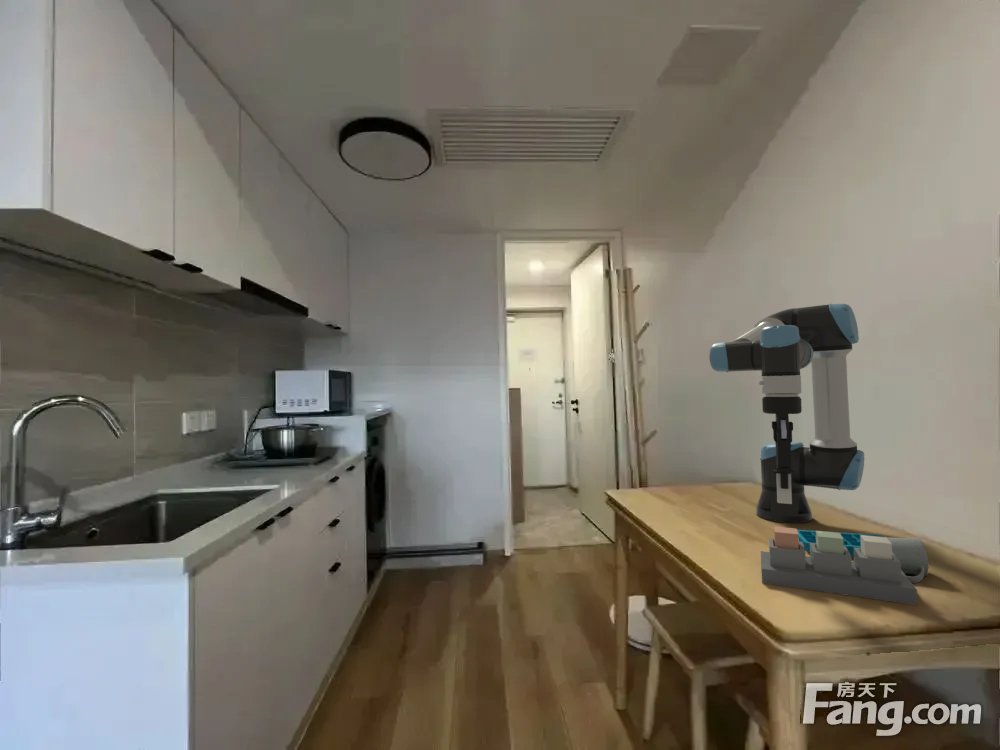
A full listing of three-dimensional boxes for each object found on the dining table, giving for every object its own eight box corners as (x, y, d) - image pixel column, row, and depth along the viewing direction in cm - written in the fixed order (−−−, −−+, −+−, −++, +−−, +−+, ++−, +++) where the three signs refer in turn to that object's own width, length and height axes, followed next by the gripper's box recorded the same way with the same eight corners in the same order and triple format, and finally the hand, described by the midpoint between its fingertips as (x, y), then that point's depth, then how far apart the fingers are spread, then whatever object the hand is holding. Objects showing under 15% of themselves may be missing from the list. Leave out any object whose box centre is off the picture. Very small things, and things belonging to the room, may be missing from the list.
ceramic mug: (874, 563, 115) (873, 530, 115) (918, 568, 111) (917, 534, 111) (886, 581, 105) (885, 545, 105) (935, 587, 102) (934, 550, 102)
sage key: (816, 551, 108) (815, 530, 108) (840, 553, 106) (839, 532, 106) (818, 557, 104) (818, 536, 104) (844, 560, 102) (843, 538, 102)
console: (761, 563, 116) (760, 534, 116) (900, 581, 104) (898, 548, 104) (762, 582, 105) (761, 549, 105) (917, 605, 93) (915, 568, 94)
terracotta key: (774, 546, 111) (773, 526, 111) (797, 549, 109) (796, 528, 109) (775, 552, 107) (774, 531, 108) (799, 555, 105) (798, 534, 106)
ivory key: (861, 556, 104) (860, 534, 104) (887, 559, 102) (886, 537, 102) (865, 563, 100) (864, 541, 100) (892, 566, 98) (891, 543, 98)
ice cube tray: (793, 540, 133) (793, 529, 133) (882, 546, 127) (882, 535, 127) (805, 555, 122) (805, 543, 122) (903, 562, 116) (903, 549, 116)
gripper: (761, 395, 116) (764, 495, 116) (762, 396, 105) (765, 507, 104) (798, 394, 113) (801, 498, 112) (803, 396, 101) (807, 511, 101)
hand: (784, 502), depth 108 cm, fingers closed
